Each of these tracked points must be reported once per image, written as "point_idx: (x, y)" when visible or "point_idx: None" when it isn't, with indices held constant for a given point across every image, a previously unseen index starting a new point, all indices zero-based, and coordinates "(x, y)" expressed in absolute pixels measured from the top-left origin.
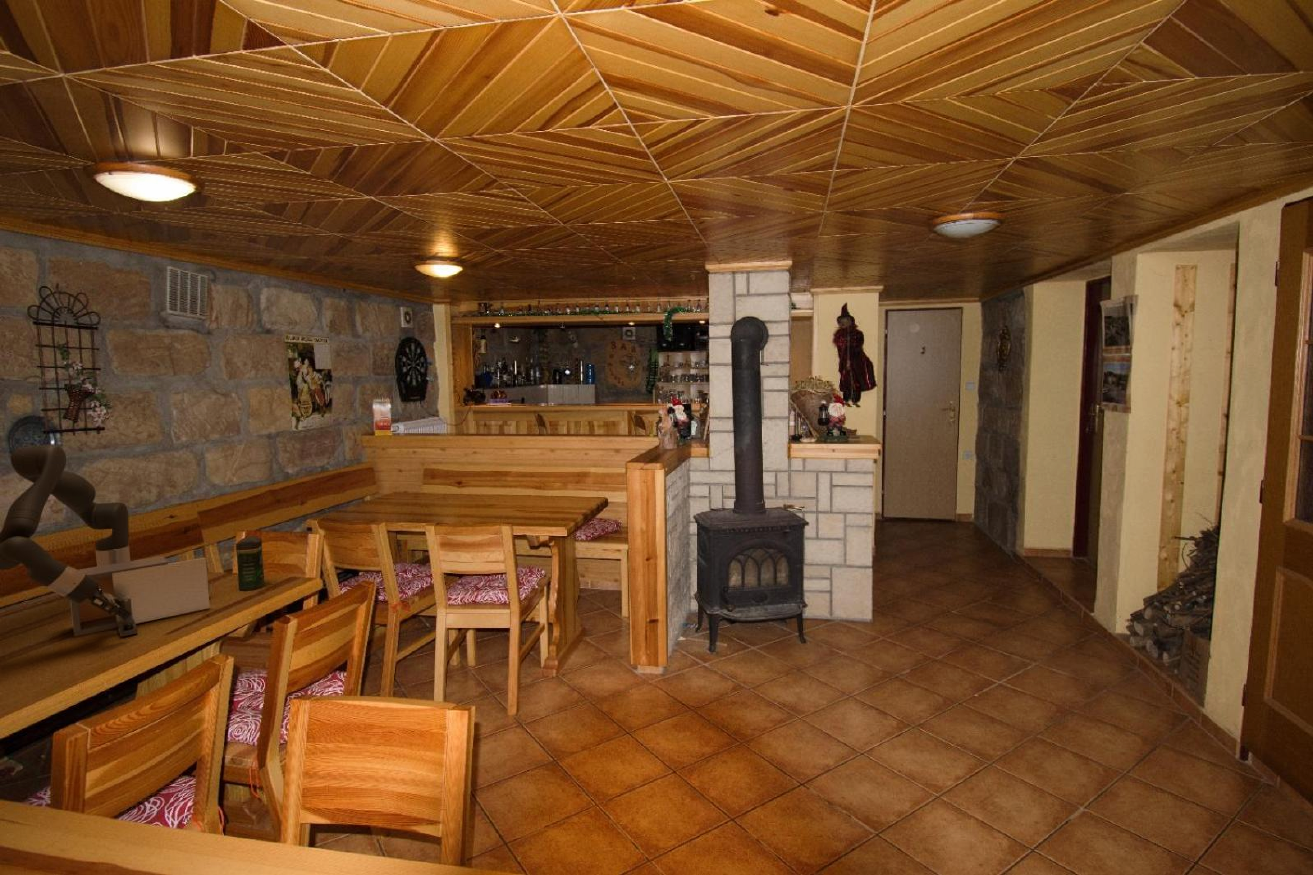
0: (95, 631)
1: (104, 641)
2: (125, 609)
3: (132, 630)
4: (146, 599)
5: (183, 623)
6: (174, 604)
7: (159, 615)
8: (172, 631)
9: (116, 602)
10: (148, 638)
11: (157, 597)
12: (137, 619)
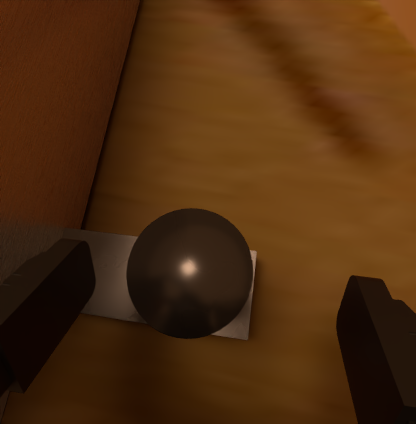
0: (2, 405)
1: (220, 416)
2: (390, 328)
3: (253, 277)
4: (9, 101)
5: (253, 79)
6: (94, 32)
7: (98, 123)
8: (341, 133)
9: (15, 337)
10: (366, 235)
11: (32, 43)
12: (71, 211)
